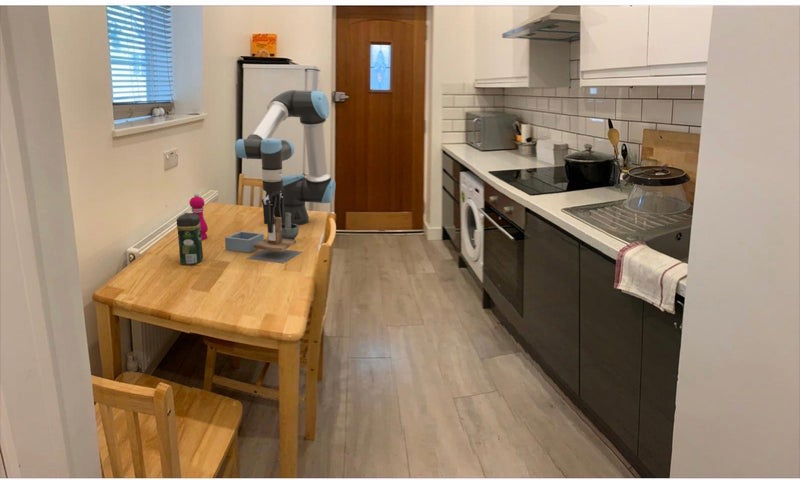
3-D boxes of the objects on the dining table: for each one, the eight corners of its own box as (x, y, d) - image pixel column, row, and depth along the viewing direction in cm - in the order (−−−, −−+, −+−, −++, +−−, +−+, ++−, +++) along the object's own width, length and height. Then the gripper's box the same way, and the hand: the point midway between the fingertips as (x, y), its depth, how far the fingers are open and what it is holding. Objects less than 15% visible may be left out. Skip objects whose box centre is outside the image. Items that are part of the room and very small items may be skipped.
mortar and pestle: (298, 244, 232) (297, 217, 229) (275, 244, 231) (275, 217, 228) (299, 237, 243) (299, 211, 240) (278, 237, 242) (277, 211, 238)
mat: (267, 249, 225) (267, 247, 224) (302, 253, 220) (302, 251, 220) (246, 260, 210) (246, 258, 210) (283, 265, 206) (283, 263, 205)
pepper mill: (187, 239, 234) (183, 194, 229) (197, 235, 241) (194, 191, 236) (201, 241, 233) (198, 195, 227) (211, 237, 239) (208, 192, 234)
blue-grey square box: (240, 244, 230) (240, 231, 228) (264, 247, 227) (263, 233, 225) (225, 251, 219) (224, 237, 218) (249, 254, 216) (249, 240, 215)
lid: (269, 239, 221) (268, 212, 218) (296, 242, 218) (295, 215, 215) (253, 248, 210) (252, 220, 207) (281, 251, 207) (280, 223, 204)
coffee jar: (183, 258, 210) (179, 211, 205) (204, 257, 212) (201, 211, 206) (177, 266, 201) (173, 217, 196) (200, 265, 202) (196, 217, 197)
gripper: (270, 184, 198) (272, 245, 205) (292, 176, 213) (293, 233, 220) (251, 183, 200) (255, 243, 207) (275, 175, 215) (277, 231, 222)
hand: (275, 238), depth 213 cm, fingers closed on lid, 4 cm apart
